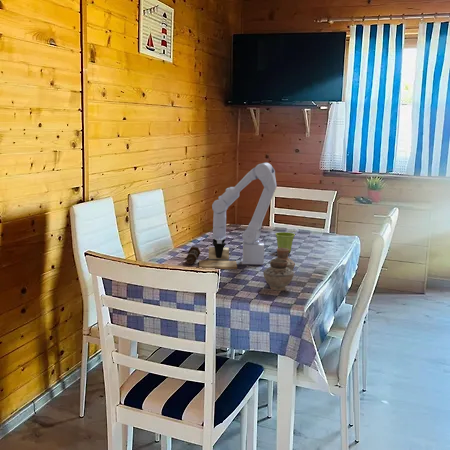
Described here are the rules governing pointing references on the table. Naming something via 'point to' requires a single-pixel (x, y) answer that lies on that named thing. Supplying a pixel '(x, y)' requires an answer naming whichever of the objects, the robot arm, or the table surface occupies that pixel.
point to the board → (218, 264)
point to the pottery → (280, 270)
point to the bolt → (193, 255)
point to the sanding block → (213, 254)
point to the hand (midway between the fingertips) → (218, 256)
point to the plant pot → (285, 240)
